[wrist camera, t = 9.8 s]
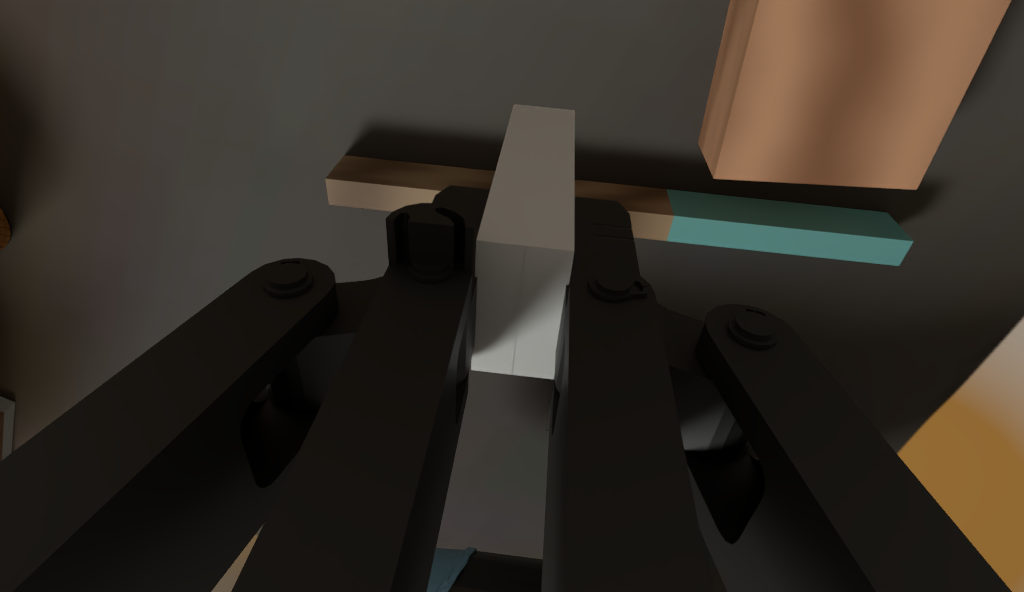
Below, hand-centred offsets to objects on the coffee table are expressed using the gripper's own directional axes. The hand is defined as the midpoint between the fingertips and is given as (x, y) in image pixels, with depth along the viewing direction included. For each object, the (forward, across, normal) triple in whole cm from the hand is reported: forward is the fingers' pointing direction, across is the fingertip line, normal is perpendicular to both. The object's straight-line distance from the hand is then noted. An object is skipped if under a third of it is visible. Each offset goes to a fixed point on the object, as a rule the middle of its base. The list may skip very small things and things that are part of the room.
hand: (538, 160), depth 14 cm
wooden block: (+16, -12, 0) cm, 20 cm away
